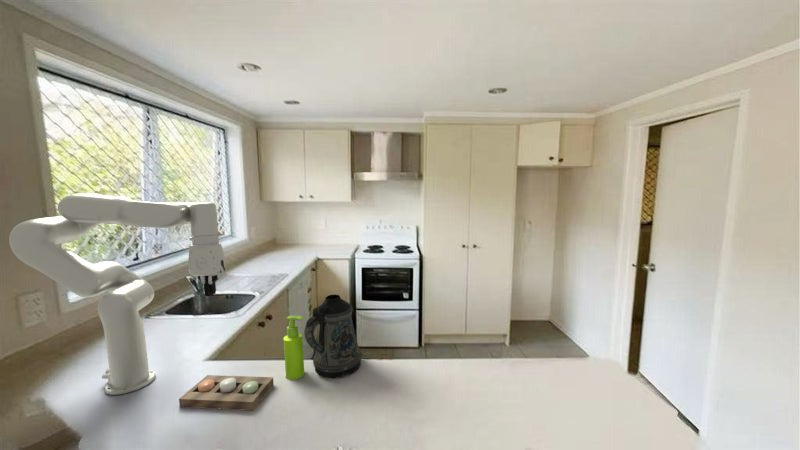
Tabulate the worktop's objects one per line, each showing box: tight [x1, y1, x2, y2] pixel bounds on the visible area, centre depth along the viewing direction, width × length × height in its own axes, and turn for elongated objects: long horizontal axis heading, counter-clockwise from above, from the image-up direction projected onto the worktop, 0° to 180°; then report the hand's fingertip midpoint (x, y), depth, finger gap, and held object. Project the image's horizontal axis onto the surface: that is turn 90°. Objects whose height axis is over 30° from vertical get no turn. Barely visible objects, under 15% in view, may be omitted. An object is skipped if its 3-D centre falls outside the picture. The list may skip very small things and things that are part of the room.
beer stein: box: [303, 294, 363, 380], centre depth 110 cm, size 16×19×25 cm
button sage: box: [243, 381, 258, 394], centre depth 97 cm, size 4×4×2 cm
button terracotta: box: [198, 380, 215, 392], centre depth 98 cm, size 4×4×2 cm
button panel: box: [178, 374, 274, 411], centre depth 98 cm, size 22×12×2 cm, turn 85°
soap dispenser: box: [283, 315, 305, 380], centre depth 107 cm, size 6×7×20 cm
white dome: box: [220, 378, 236, 393], centre depth 97 cm, size 4×4×2 cm
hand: (210, 294), depth 108 cm, fingers closed
